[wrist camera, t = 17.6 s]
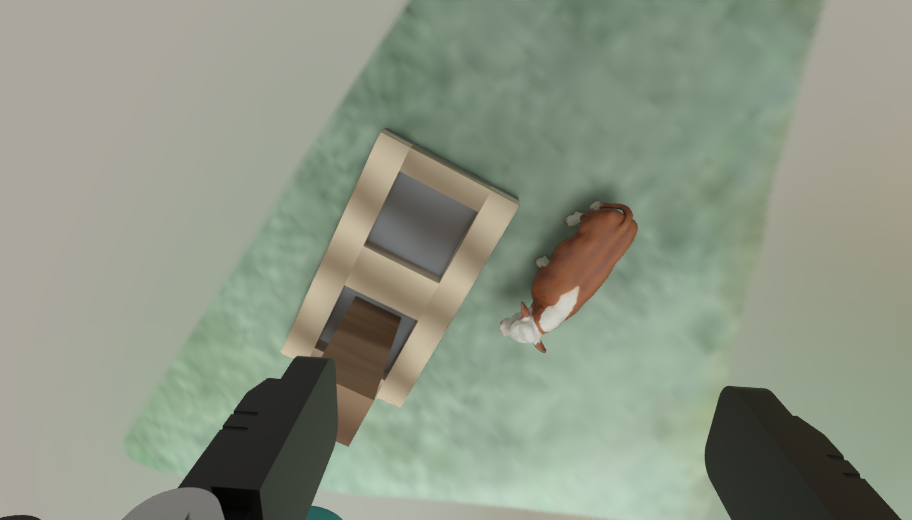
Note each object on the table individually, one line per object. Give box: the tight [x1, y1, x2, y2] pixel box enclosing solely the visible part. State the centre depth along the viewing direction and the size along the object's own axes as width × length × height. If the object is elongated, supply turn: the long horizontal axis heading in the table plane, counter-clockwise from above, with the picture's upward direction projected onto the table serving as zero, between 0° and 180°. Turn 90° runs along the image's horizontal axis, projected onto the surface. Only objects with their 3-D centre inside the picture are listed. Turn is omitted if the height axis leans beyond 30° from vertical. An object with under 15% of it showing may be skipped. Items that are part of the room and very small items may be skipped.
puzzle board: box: [281, 128, 519, 407], centre depth 44 cm, size 22×12×2 cm, turn 152°
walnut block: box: [322, 296, 402, 447], centre depth 40 cm, size 4×4×12 cm
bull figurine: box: [499, 201, 638, 353], centre depth 40 cm, size 4×13×8 cm, turn 141°
